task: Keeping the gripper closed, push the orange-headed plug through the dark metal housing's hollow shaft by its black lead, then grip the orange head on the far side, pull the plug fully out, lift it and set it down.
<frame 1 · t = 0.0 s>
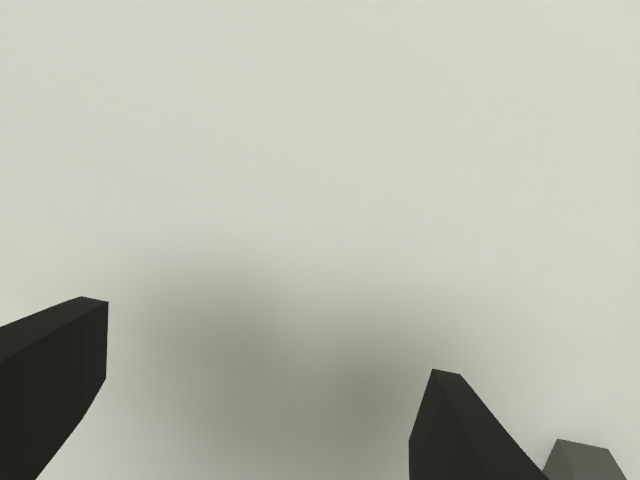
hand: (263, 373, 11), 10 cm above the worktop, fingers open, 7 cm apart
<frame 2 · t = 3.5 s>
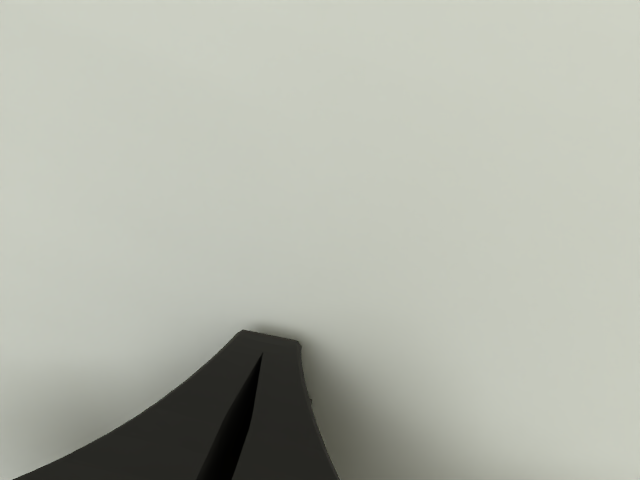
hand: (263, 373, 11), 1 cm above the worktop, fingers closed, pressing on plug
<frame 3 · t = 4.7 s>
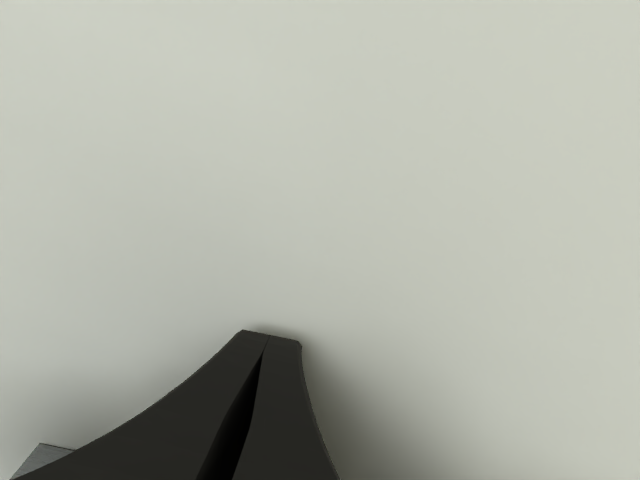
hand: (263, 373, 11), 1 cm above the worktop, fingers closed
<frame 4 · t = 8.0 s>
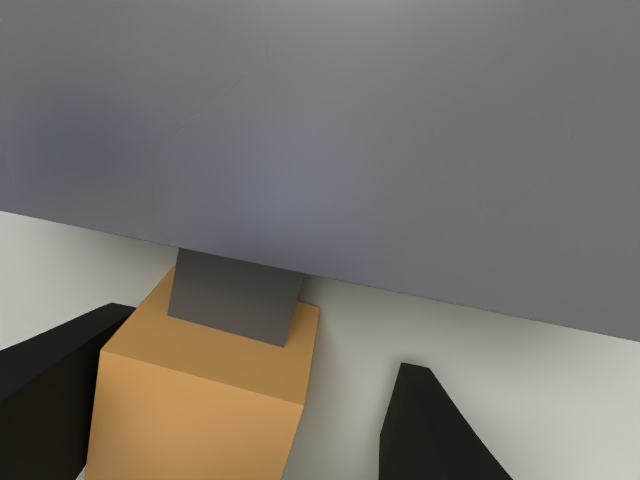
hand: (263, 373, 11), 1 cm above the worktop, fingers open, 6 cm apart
plug: (230, 355, 12), on the worktop, touching gripper
housing: (324, 62, 10), on the worktop
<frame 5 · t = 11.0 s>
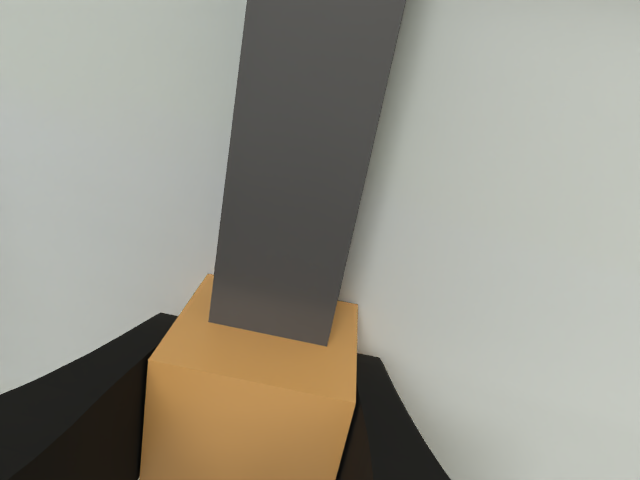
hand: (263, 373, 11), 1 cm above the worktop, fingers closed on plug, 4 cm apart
plug: (270, 359, 12), on the worktop, touching gripper
when the fingers open (3 cm above the worktop, at t = 13.3 s): plug drops 2 cm, on the worktop.
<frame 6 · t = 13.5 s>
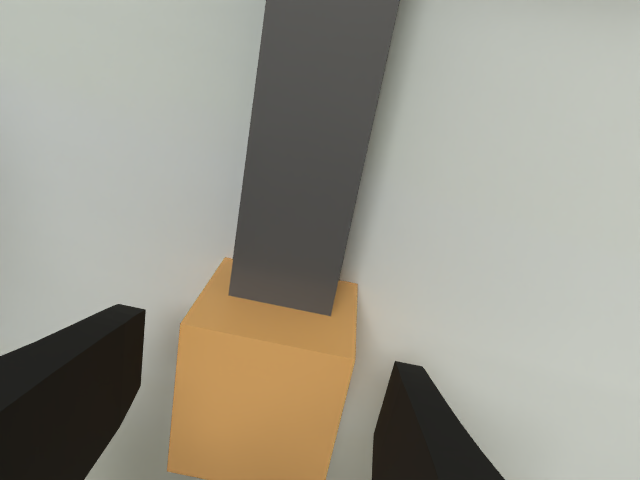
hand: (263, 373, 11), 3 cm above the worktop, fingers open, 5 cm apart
plug: (280, 333, 14), on the worktop
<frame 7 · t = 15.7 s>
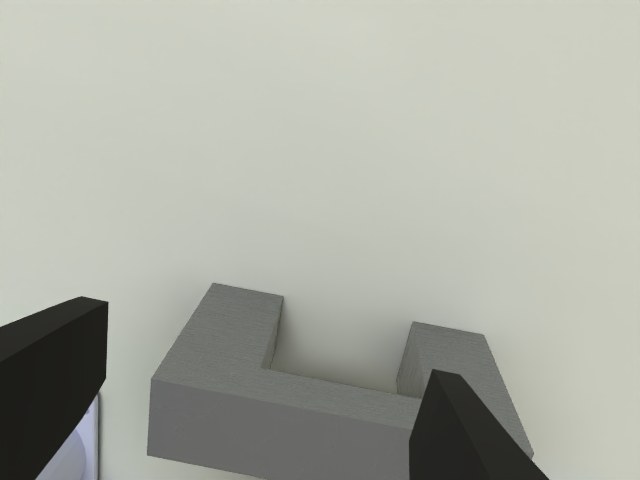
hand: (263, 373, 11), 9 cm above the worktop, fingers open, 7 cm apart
housing: (341, 339, 21), on the worktop
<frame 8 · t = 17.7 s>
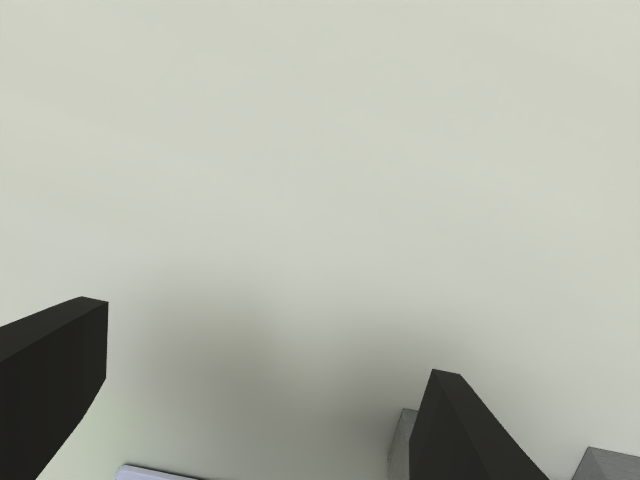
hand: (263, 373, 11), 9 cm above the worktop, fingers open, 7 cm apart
housing: (517, 459, 23), on the worktop
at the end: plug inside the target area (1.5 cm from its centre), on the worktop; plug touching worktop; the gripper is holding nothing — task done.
